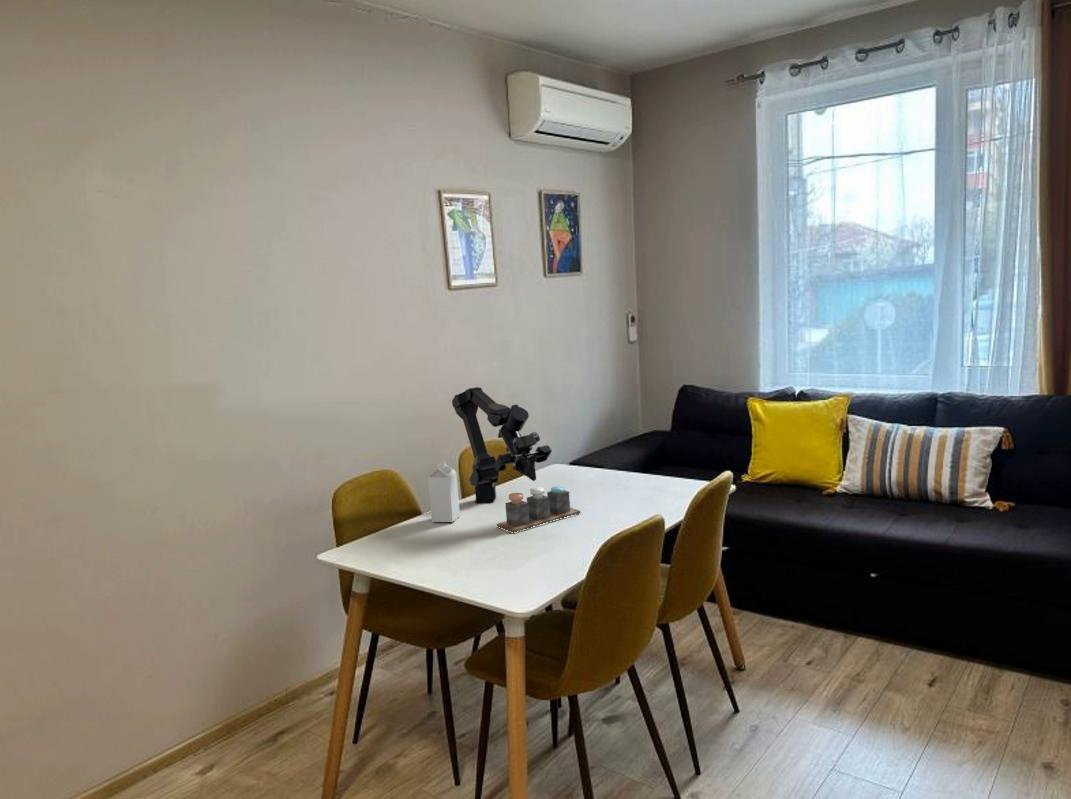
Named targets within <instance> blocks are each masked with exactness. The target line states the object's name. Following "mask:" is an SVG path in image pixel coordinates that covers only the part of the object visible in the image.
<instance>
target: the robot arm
mask: <svg viewBox="0 0 1071 799" xmlns="http://www.w3.org/2000/svg"><path fill="white" fill-rule="evenodd" d="M451 400H452V401H451V403H452V404H451V405H452V407H453V408H454V412H455V413H456V415H457V416H458V417H459V418H460V419H462V421H463V424H464V427H465V428H464V429H465V430H466V434H467V438H468V440H469V444H470V448H471V452H472V454H473V458H474V459H473V463H472V466H471V468H472V473H471V474H470V477H469V479H468V480H469V482H470V485H471V486H473V487H474V491H475V501H474V503H475V504H483V503H482V502H491V503H494V502H495V500H496V499H497V489H496V488H497V487H496V485H495V484H494V483H498V482H499V475H500V472H503V471H505V470H506V468H507V465H509V464H510V465H511V464H513V468H512V470H513V471H517V472H518V473H520V474H522V475H524V476H525V477H527V478H528V479H530V480H532V481H533V482H534V481H537V471H536V463H537V464H538V463H539V464H540V463H543V462H546V461H547V460H548V459H549V457H550V455H551V454H552V452H553V450H552V449H551V447H550V445H547V444H546V445H540V446H537V447H536V449H535V451H533V452H531V451H532V450H533V446H535V445H537V443H538V442H540V441H541V438H540V435H539V433H538V432H537V431H532V432H531V433H529V434H528V435H527V434H526V435H523V436H522V435H521V434H522V433H520V432H521V431H522V430H523V429H524V427H525V424H526V423H527V420H528V418H530V417H529V416H530V415H529V414H530V413H529V411H528V410H526V409H525V408H523V407H522V406H521V407H520V406H519V405H518V403H517V404H512V405H511V406H507V405H505V404H500V403H497V402H496V401H494V399H492V397H490V396H489V395H488V394H487V393H486V392H484V391H483V389H482V387H478V386H477V387H476V386H475V387H470V388H467V389H465V391H463V392H460V393H458V394H455V395H454V396H453V398H452V399H451ZM478 408H479V409H480V410H482V412H484V413H485V414H486V415H487V421H488V422H489V423H490V425H491V426H492V427H494V428H496V427H500V429H499V430H498V434H497V437H498V439H502V440H503V442H504V444H505V445H506V448H505V450H506V452H507V453H503V454H498V456H497V458H495V456H491V455H490V454H489V453H488V450H487V446H486V443H485V440H484V437H483V433H482V430H481V427H480V424H479V420H478V417H477V413H478Z"/></svg>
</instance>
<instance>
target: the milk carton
mask: <svg viewBox="0 0 1071 799" xmlns="http://www.w3.org/2000/svg"><path fill="white" fill-rule="evenodd" d="M427 479H428V480H427V482H428V494H429V503H430V504H429V505H430V515H431V516H430V517H431V523H432V522H453V521H454V520H455V519H456V518H458V517H459V516H460V517H461V514H460V513H461V511H460V500H459V489H458V488H459V487H458V475H457V472H456V470H454V468H452V467H451V466H449V465H448V464H447V463H446V460H443V461H441V462H440V463H438V464H437V465H436V469H435V471H434V472H432V474H430V476H428V478H427ZM460 517H459V518H460ZM459 518H458V519H459ZM456 520H457V519H456ZM456 520H455V521H456ZM455 521H454V522H455ZM454 522H453V523H454Z"/></svg>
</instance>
